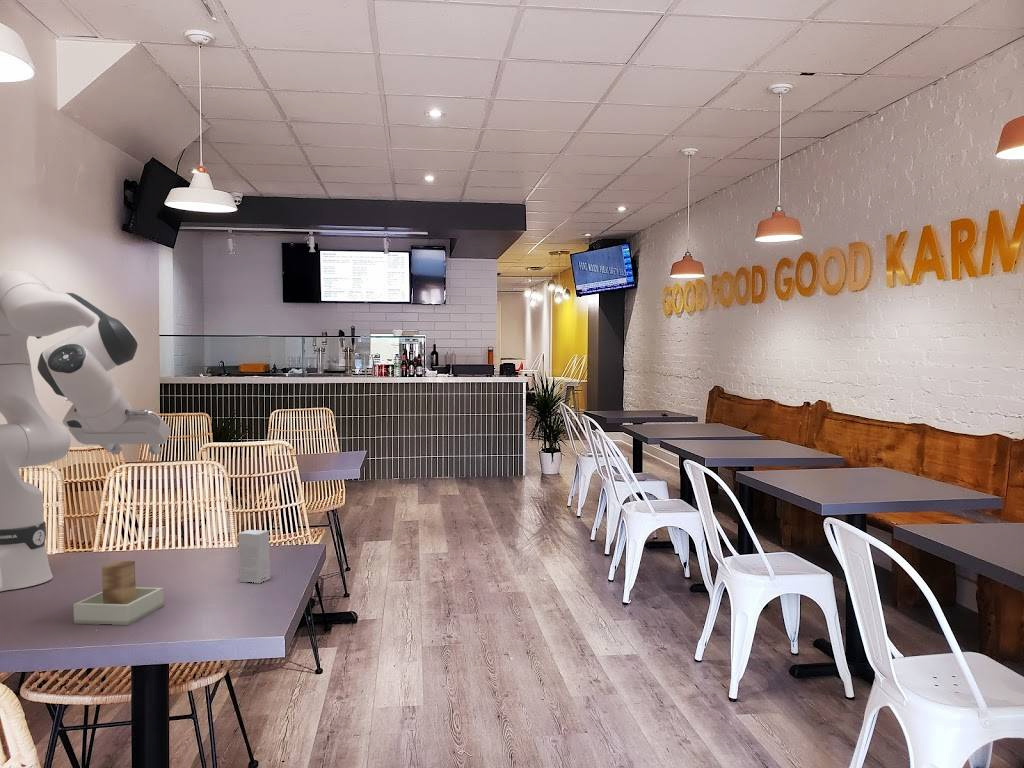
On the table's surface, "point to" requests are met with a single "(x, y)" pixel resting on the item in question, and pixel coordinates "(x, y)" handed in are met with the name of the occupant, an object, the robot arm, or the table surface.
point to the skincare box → (254, 556)
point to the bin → (118, 608)
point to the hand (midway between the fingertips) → (137, 452)
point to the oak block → (119, 582)
